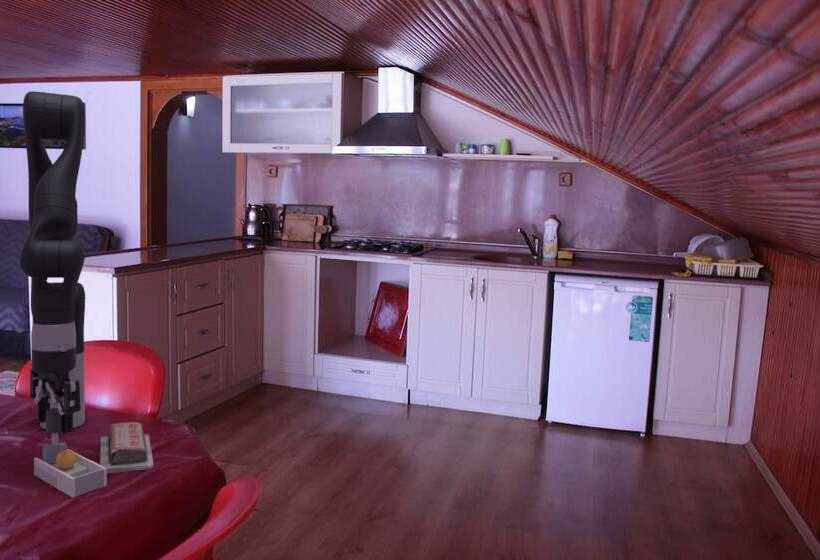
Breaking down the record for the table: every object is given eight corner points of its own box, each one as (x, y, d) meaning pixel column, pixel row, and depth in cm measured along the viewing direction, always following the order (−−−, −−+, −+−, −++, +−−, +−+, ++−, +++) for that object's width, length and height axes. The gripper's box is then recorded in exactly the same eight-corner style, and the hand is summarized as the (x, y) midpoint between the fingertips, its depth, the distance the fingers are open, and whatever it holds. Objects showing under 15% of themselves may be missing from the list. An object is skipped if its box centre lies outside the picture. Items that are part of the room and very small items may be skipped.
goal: (56, 488, 122) (56, 470, 122) (90, 477, 128) (90, 460, 127) (72, 497, 119) (72, 479, 119) (106, 485, 125) (106, 468, 124)
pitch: (34, 475, 127) (34, 458, 127) (67, 464, 133) (67, 448, 132) (56, 488, 122) (56, 470, 122) (90, 477, 128) (90, 460, 127)
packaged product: (100, 422, 145) (149, 418, 149) (100, 443, 145) (148, 438, 149) (99, 453, 128) (154, 448, 133) (99, 477, 129) (153, 470, 133)
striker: (40, 461, 128) (40, 411, 127) (61, 455, 131) (61, 406, 130) (48, 466, 126) (47, 414, 125) (69, 459, 130) (69, 409, 128)
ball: (51, 468, 126) (51, 450, 126) (70, 462, 129) (70, 445, 128) (61, 473, 124) (61, 455, 124) (79, 468, 127) (79, 450, 126)
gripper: (15, 341, 127) (16, 423, 129) (52, 354, 119) (53, 441, 121) (54, 336, 133) (55, 414, 135) (93, 348, 125) (93, 431, 127)
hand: (54, 427), depth 128 cm, fingers open, 8 cm apart
